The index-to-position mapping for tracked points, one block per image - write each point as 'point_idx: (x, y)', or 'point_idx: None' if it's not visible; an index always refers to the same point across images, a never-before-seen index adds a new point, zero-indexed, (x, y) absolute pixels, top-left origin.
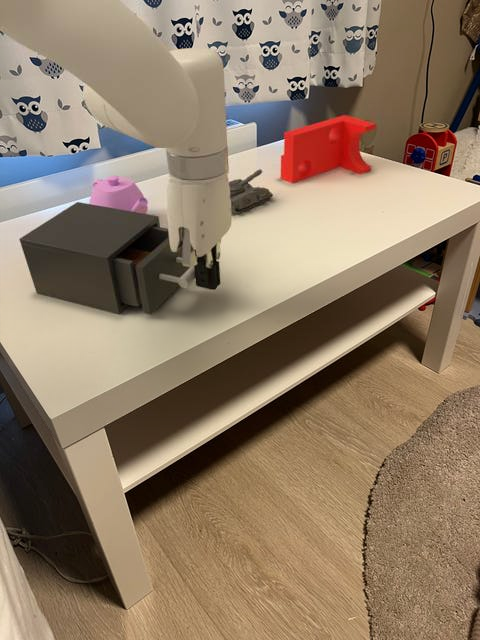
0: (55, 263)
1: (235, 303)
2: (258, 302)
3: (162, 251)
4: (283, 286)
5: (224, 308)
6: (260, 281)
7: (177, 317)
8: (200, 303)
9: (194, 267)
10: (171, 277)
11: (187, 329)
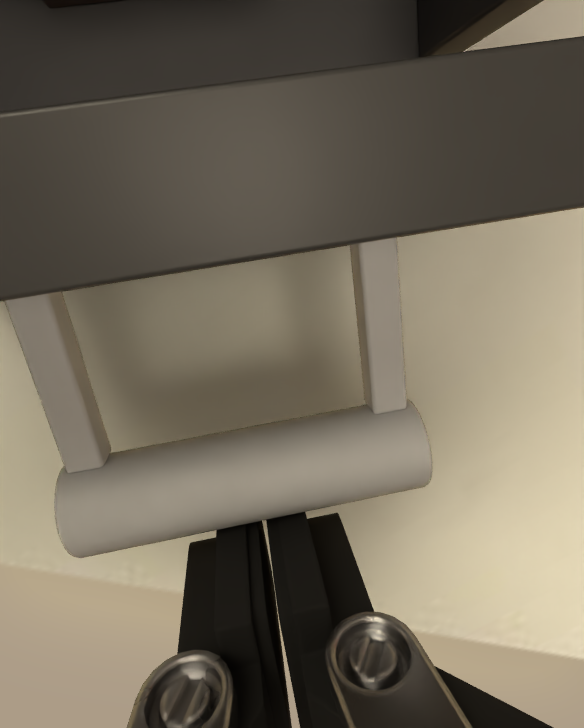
0: None
1: None
2: (382, 581)
3: (54, 289)
4: (524, 590)
5: None
6: (529, 506)
7: None
8: (248, 392)
9: (215, 584)
10: (54, 406)
11: (36, 471)
